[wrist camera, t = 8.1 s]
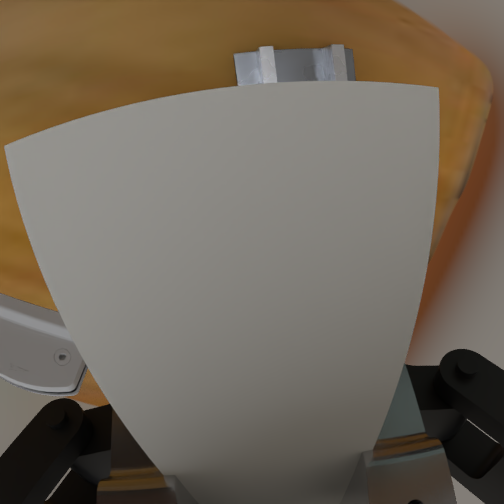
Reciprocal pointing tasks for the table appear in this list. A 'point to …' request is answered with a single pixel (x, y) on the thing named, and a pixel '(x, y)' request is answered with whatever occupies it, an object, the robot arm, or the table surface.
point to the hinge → (38, 350)
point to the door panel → (241, 271)
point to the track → (294, 65)
